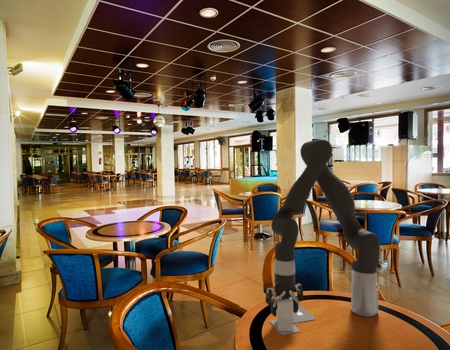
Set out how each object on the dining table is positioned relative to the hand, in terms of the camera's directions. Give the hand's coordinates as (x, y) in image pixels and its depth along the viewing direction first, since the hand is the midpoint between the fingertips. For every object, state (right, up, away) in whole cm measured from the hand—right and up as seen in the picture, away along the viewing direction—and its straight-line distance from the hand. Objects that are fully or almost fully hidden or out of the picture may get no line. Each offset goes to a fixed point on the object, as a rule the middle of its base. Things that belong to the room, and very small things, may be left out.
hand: (284, 313), depth 111 cm
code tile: (+7, -5, +9) cm, 12 cm away
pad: (0, -5, 0) cm, 5 cm away
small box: (0, -5, 0) cm, 5 cm away
